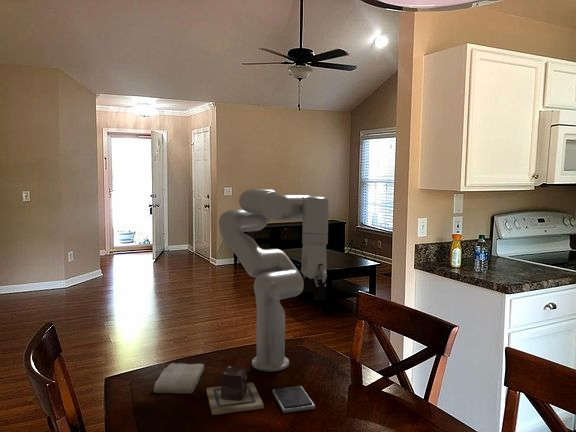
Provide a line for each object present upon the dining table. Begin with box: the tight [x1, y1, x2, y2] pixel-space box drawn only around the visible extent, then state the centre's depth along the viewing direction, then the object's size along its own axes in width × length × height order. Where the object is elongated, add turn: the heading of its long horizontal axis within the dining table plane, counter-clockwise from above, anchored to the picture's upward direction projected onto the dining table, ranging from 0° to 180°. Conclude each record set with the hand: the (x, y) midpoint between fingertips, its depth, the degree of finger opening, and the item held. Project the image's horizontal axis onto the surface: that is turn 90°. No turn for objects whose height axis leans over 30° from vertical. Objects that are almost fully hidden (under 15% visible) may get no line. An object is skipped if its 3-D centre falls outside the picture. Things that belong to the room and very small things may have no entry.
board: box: [206, 382, 265, 416], centre depth 128 cm, size 14×14×1 cm
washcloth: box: [153, 362, 205, 395], centre depth 140 cm, size 12×18×3 cm, turn 0°
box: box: [220, 365, 248, 401], centre depth 128 cm, size 6×6×7 cm
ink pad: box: [271, 385, 316, 414], centre depth 128 cm, size 12×9×1 cm
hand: (314, 295), depth 133 cm, fingers open, 9 cm apart
